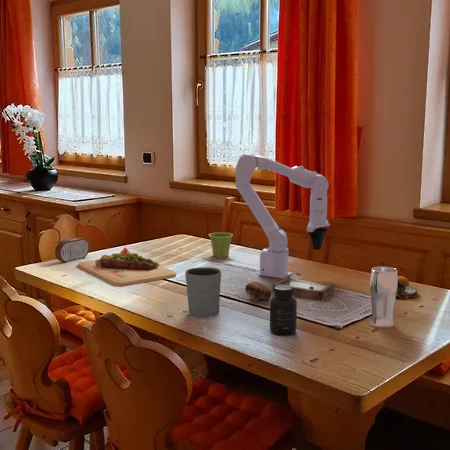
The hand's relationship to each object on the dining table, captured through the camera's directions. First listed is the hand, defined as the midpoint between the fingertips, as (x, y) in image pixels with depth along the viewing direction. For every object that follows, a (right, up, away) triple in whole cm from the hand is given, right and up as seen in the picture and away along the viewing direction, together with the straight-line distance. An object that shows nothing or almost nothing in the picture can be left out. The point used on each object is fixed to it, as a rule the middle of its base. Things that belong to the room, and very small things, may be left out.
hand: (317, 249), depth 209 cm
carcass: (-7, -13, -17) cm, 22 cm away
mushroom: (-22, -15, -27) cm, 37 cm away
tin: (-90, -5, +24) cm, 93 cm away
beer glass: (+10, -18, -48) cm, 52 cm away
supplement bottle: (-17, -19, -54) cm, 59 cm away
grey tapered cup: (-38, -16, -38) cm, 56 cm away
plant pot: (-33, -4, +31) cm, 46 cm away
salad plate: (+22, -14, -19) cm, 32 cm away
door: (-6, -13, -17) cm, 22 cm away
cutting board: (-67, -9, +8) cm, 68 cm away
